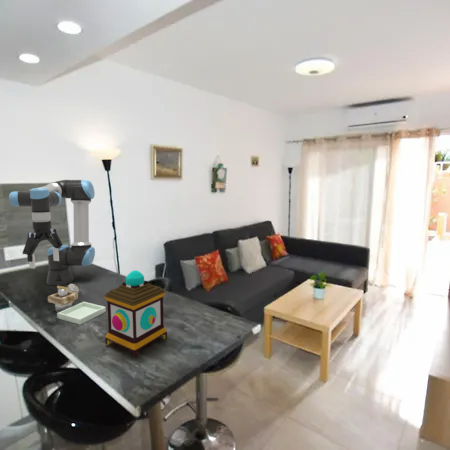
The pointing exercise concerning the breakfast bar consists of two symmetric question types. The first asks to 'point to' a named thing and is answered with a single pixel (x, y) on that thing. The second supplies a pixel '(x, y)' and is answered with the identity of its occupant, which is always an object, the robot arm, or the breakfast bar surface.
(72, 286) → the game die
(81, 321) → the tray
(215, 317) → the breakfast bar surface
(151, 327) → the decorative lantern
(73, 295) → the tan wooden square frame
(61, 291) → the grey piece
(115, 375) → the breakfast bar surface
